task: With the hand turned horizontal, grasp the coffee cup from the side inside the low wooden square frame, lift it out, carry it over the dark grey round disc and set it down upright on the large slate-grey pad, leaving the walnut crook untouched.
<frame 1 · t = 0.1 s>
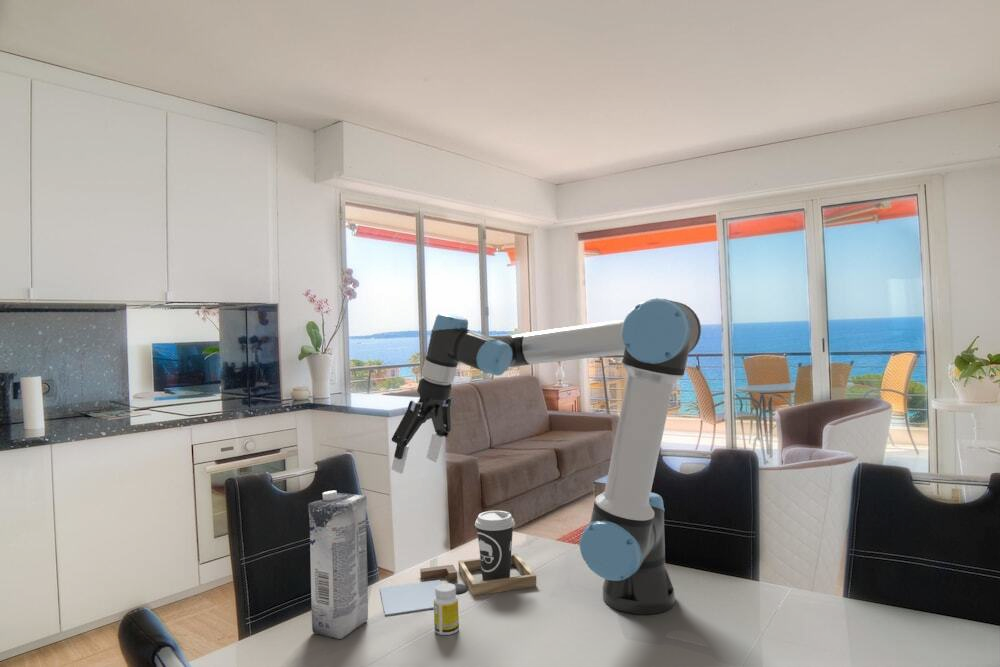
hand: (414, 465, 141), 28 cm above the table, tool tilted 20°, fingers open, 13 cm apart
dark grey round disc: (456, 589, 137), on the table
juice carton: (340, 628, 120), on the table
wooden square frame: (496, 578, 142), on the table
walnut crook: (437, 576, 145), on the table
supplement bottle: (446, 631, 118), on the table
slate pad: (414, 597, 133), on the table
coffee cup: (496, 579, 142), resting in wooden square frame
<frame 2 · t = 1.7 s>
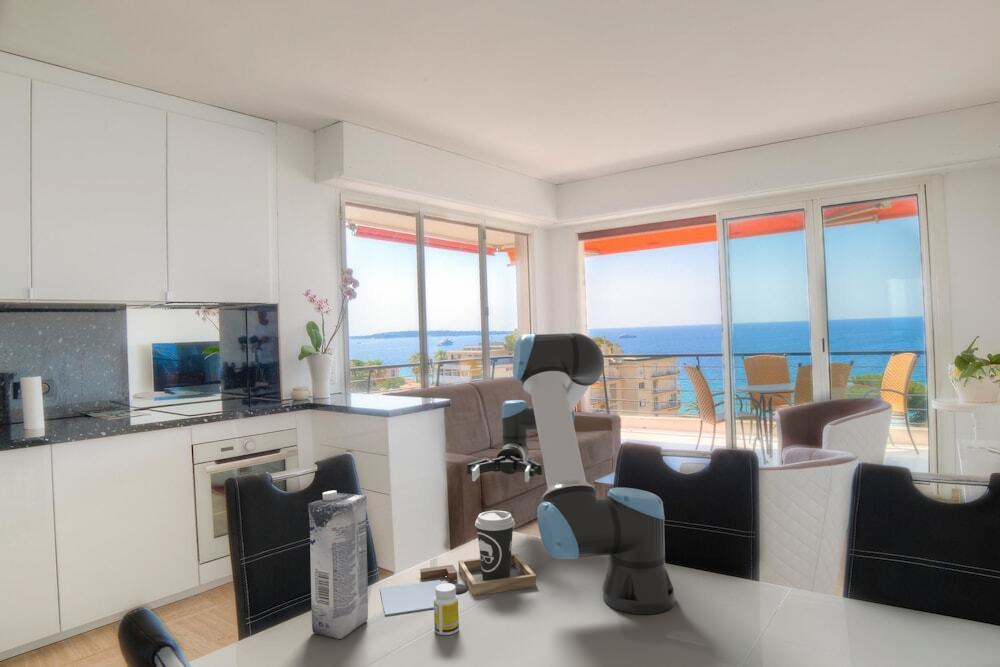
hand: (499, 476, 152), 22 cm above the table, tool horizontal, fingers open, 13 cm apart
nothing on the table moved.
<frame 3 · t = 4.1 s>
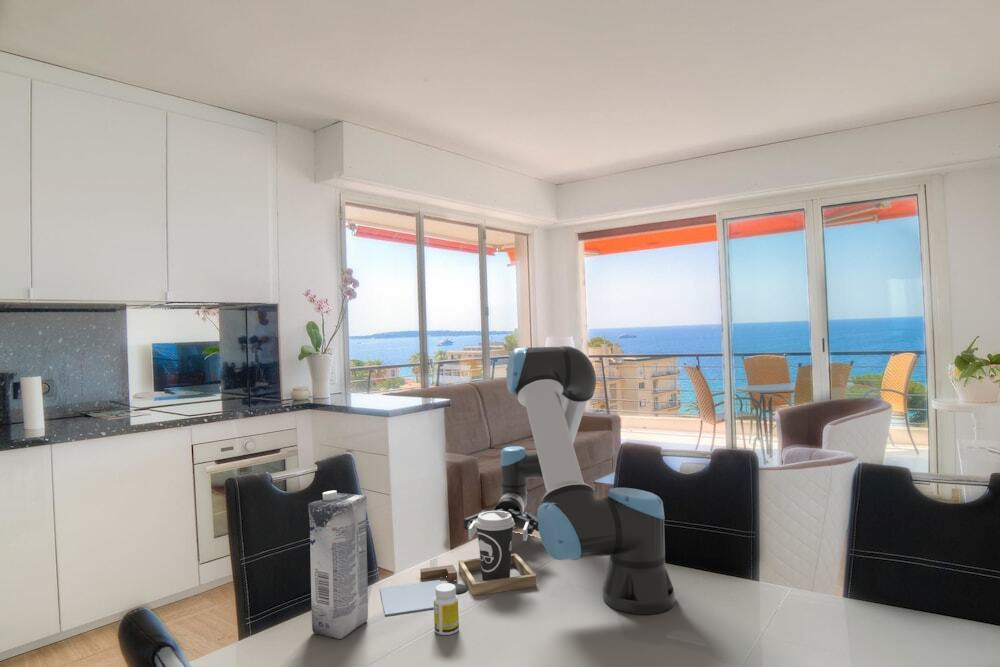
hand: (496, 534, 147), 9 cm above the table, tool horizontal, fingers open, 13 cm apart
nothing on the table moved.
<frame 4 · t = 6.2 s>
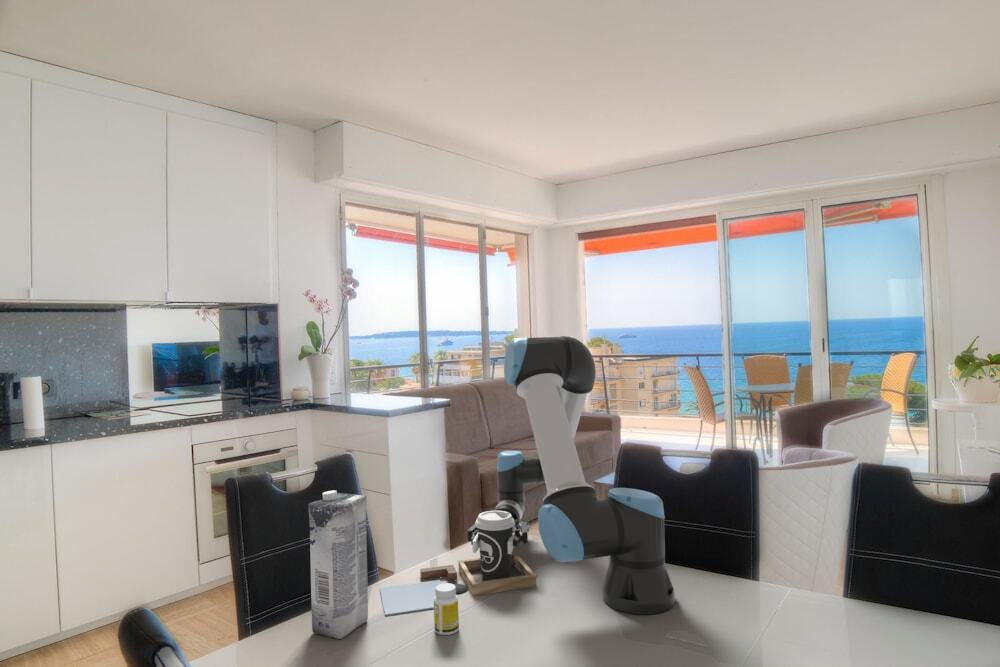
hand: (491, 547, 138), 9 cm above the table, tool horizontal, fingers closed on coffee cup, 7 cm apart
coffee cup: (496, 579, 142), resting in wooden square frame, touching gripper
everything else where it was.
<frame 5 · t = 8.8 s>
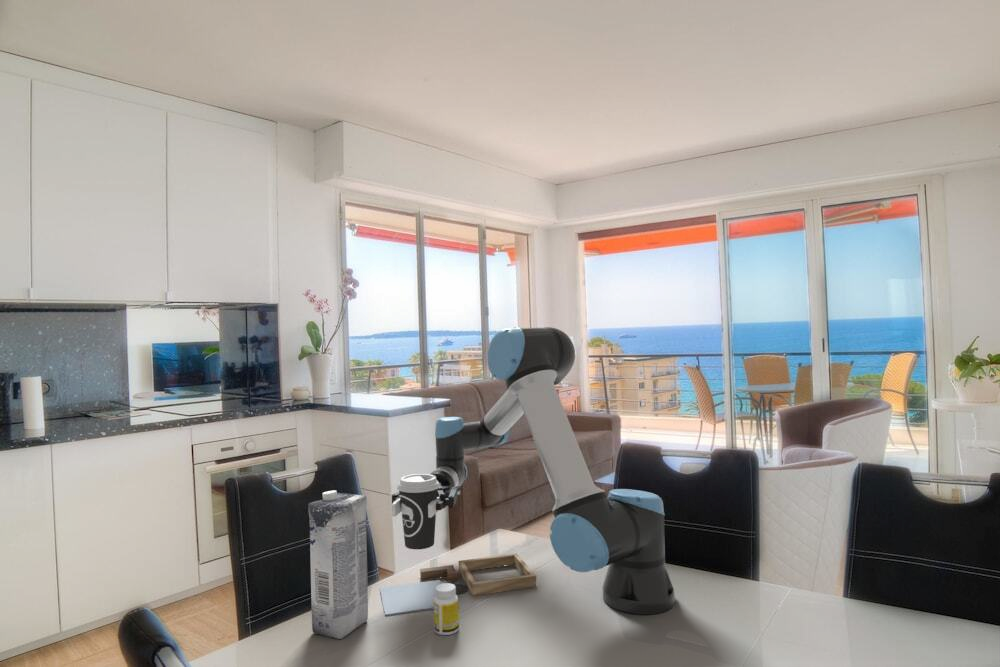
hand: (411, 510, 130), 20 cm above the table, tool horizontal, fingers closed on coffee cup, 7 cm apart
coffee cup: (419, 545, 135), point 11 cm above the table, touching gripper
everything else where it was.
when the fingers open (10 cm above the table, at t = 11.8 s): coffee cup stays where it is, resting on slate pad.
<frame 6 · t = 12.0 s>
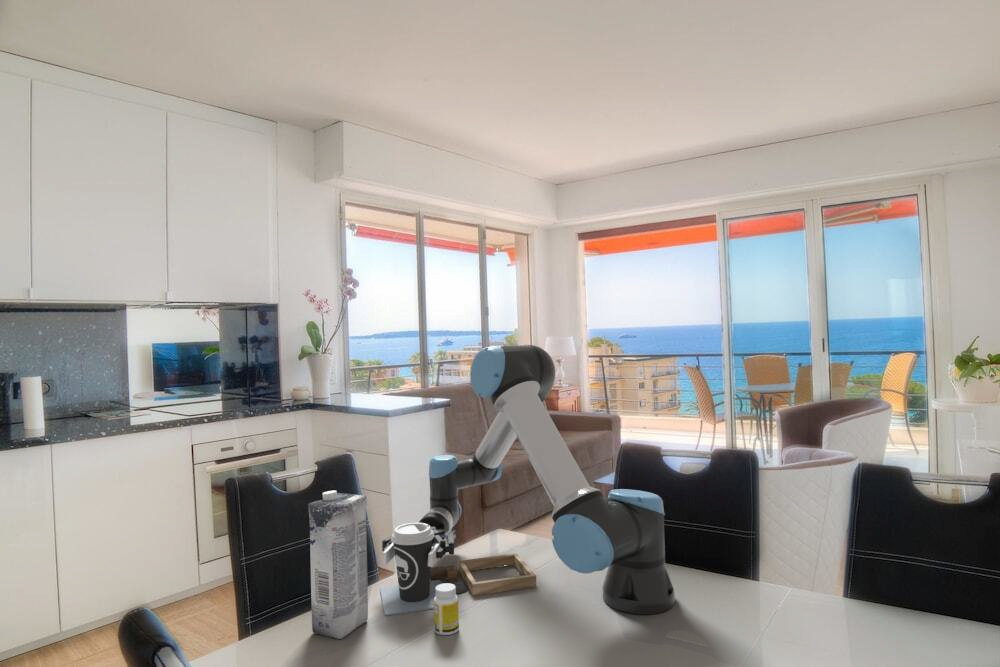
hand: (407, 559, 129), 10 cm above the table, tool horizontal, fingers open, 9 cm apart
coffee cup: (414, 596, 133), resting on slate pad
everything else where it was.
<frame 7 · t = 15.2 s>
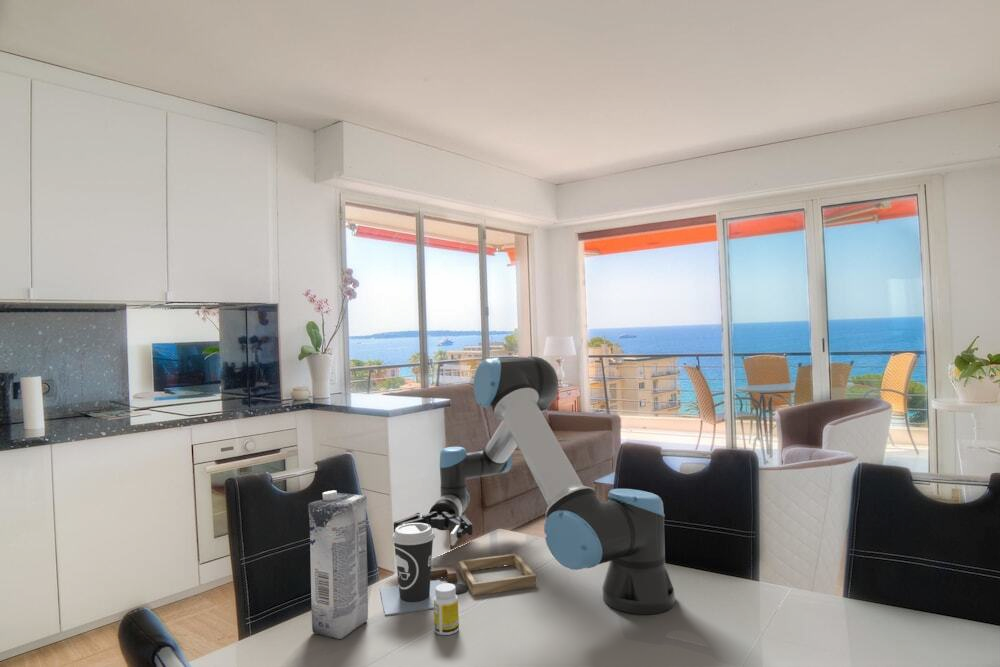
hand: (423, 538, 142), 10 cm above the table, tool horizontal, fingers open, 13 cm apart
nothing on the table moved.
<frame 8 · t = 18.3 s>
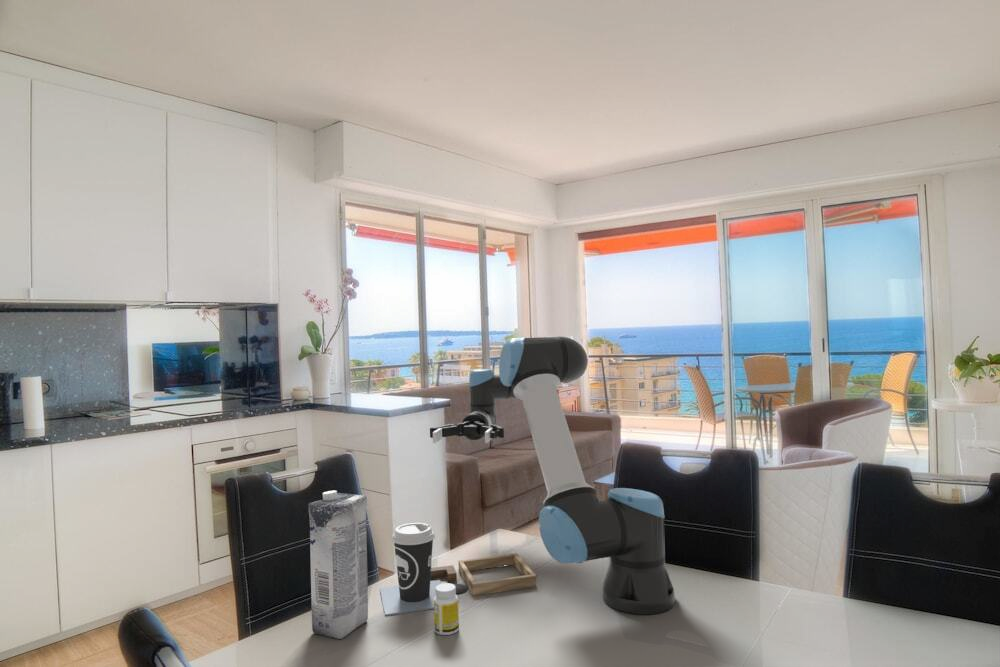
hand: (460, 437, 153), 32 cm above the table, tool horizontal, fingers open, 13 cm apart
nothing on the table moved.
at the end: coffee cup inside the target area on the slate pad (0.1 cm from its centre), point 0.1 cm above the slate pad's base; coffee cup tilted 0°; the gripper is holding nothing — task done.
